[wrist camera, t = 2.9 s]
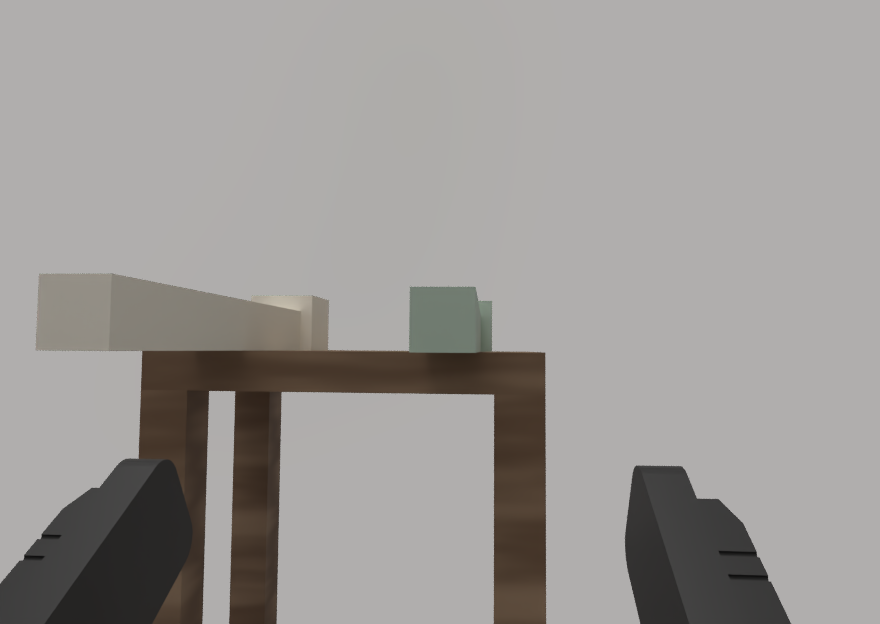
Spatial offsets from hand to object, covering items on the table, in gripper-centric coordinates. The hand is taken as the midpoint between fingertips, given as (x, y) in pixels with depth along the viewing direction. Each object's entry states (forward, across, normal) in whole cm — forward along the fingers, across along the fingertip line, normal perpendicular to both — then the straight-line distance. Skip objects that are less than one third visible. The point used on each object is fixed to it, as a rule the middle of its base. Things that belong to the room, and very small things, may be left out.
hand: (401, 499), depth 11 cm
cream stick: (+19, -12, -8) cm, 24 cm away
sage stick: (+23, 0, -10) cm, 25 cm away
